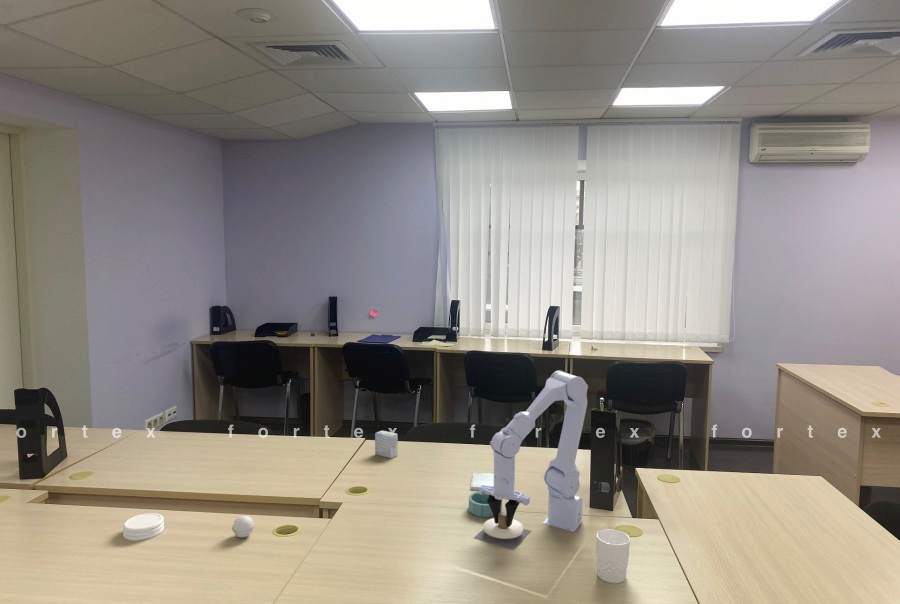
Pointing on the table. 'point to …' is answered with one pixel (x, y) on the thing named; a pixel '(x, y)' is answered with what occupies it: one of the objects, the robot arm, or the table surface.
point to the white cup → (612, 555)
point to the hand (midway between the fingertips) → (503, 523)
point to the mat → (505, 543)
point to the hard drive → (482, 480)
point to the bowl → (480, 505)
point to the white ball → (243, 526)
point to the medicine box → (386, 444)
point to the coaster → (143, 526)
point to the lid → (503, 527)
